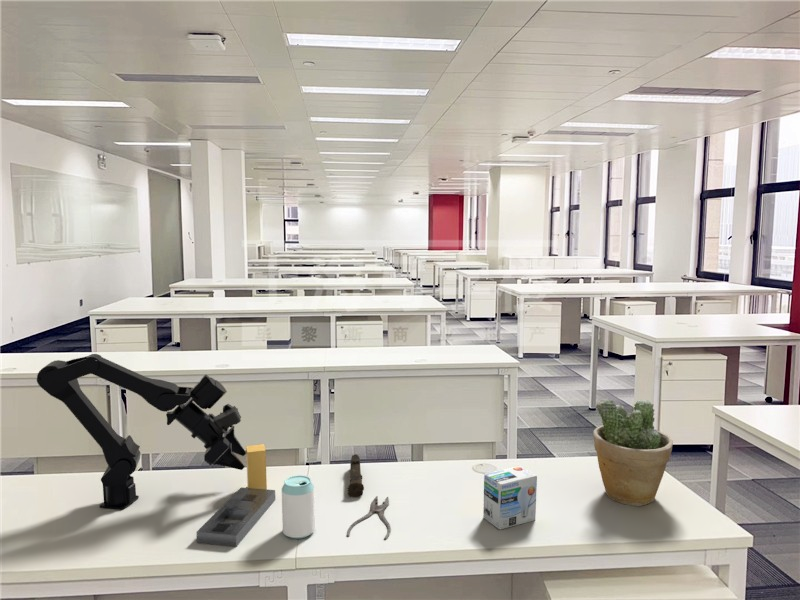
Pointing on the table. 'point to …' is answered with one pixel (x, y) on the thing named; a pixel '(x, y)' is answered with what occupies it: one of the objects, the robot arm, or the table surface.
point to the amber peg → (256, 466)
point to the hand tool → (355, 478)
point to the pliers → (374, 509)
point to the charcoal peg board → (236, 517)
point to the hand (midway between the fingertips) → (244, 461)
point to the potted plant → (630, 452)
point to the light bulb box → (509, 497)
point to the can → (298, 507)
